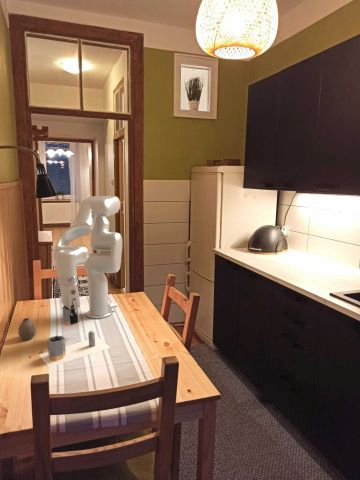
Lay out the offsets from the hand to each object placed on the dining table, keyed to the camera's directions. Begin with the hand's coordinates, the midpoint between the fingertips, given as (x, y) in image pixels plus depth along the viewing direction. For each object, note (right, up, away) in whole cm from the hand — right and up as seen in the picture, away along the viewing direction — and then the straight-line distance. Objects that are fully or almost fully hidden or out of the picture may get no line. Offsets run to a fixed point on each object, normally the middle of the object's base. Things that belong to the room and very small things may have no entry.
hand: (71, 320), depth 147 cm
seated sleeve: (-1, -10, -15) cm, 18 cm away
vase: (-20, -9, +4) cm, 22 cm away
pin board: (+5, -11, -11) cm, 16 cm away
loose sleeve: (0, -1, 0) cm, 1 cm away
